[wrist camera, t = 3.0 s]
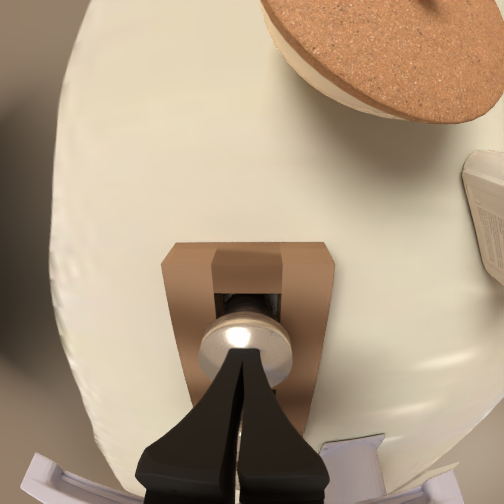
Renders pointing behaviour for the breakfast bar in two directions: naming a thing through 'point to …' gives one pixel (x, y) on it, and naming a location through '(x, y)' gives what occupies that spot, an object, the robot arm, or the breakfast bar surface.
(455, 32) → the lidded jar
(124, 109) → the breakfast bar surface
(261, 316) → the knob
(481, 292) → the breakfast bar surface
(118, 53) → the breakfast bar surface
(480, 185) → the photo printer
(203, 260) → the bar
